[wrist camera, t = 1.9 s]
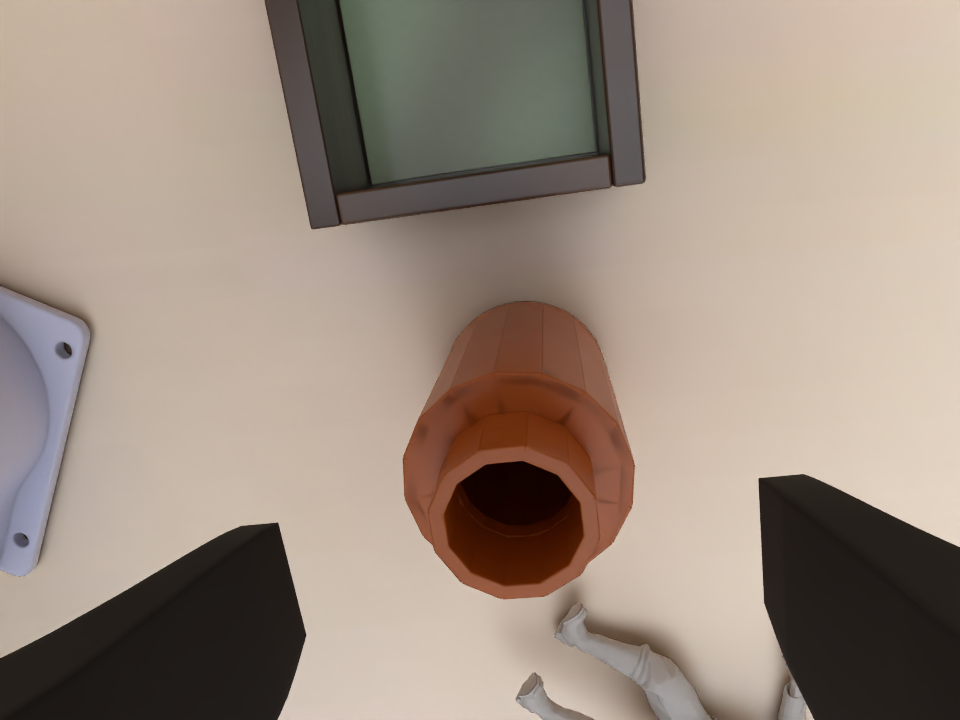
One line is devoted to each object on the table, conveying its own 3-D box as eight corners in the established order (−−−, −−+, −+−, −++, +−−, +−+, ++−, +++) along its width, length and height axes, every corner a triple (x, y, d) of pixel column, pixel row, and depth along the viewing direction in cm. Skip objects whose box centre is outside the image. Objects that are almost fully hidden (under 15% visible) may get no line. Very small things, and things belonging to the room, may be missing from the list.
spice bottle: (566, 473, 21) (579, 671, 13) (425, 415, 21) (351, 580, 13) (632, 338, 20) (692, 465, 12) (482, 276, 20) (439, 361, 12)
